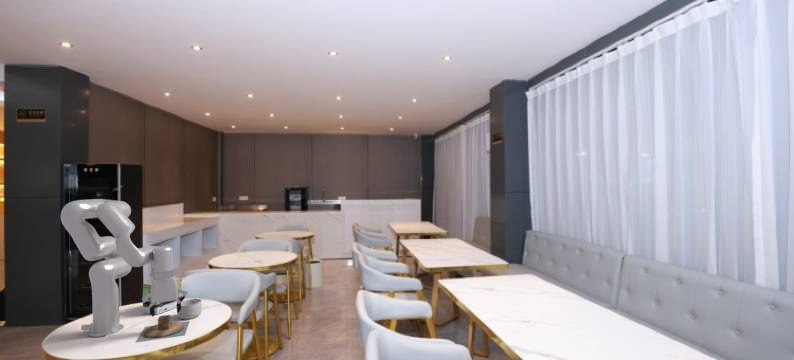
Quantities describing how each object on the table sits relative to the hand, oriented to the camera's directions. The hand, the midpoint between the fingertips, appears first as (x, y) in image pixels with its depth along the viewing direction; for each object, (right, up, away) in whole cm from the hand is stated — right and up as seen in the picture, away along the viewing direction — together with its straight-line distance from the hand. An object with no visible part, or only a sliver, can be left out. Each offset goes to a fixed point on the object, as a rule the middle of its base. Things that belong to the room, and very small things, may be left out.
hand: (166, 313), depth 173 cm
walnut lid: (-1, -8, 0) cm, 8 cm away
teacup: (+1, -8, +19) cm, 21 cm away
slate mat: (-1, -8, 0) cm, 8 cm away
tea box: (-19, -8, +30) cm, 37 cm away
